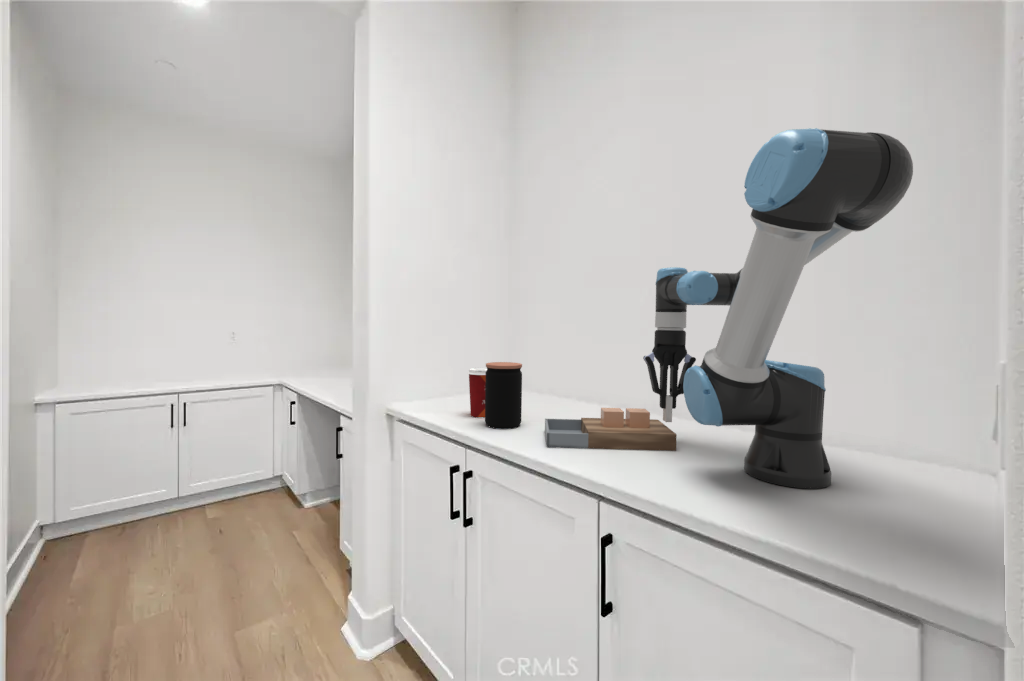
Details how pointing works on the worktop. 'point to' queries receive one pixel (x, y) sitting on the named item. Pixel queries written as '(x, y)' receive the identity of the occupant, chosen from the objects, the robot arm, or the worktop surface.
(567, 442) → the tray
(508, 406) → the coffee jar
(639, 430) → the board
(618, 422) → the tile
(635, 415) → the tile
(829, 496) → the worktop surface
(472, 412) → the coffee cup
